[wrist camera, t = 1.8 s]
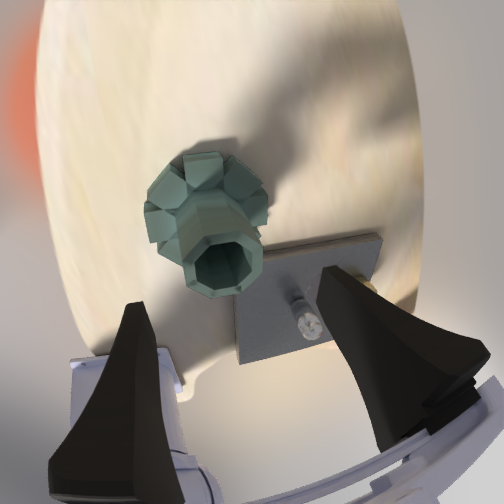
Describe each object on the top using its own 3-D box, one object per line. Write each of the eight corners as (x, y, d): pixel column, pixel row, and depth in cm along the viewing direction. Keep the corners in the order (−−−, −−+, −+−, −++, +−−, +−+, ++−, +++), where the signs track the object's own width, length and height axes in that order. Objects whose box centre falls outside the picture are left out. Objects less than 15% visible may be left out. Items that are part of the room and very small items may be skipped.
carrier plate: (236, 356, 28) (250, 397, 24) (231, 257, 21) (250, 305, 17) (346, 327, 30) (367, 360, 27) (376, 232, 23) (409, 266, 20)
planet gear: (157, 264, 19) (162, 330, 15) (137, 162, 15) (129, 210, 11) (259, 246, 21) (290, 304, 16) (262, 147, 16) (303, 186, 12)
